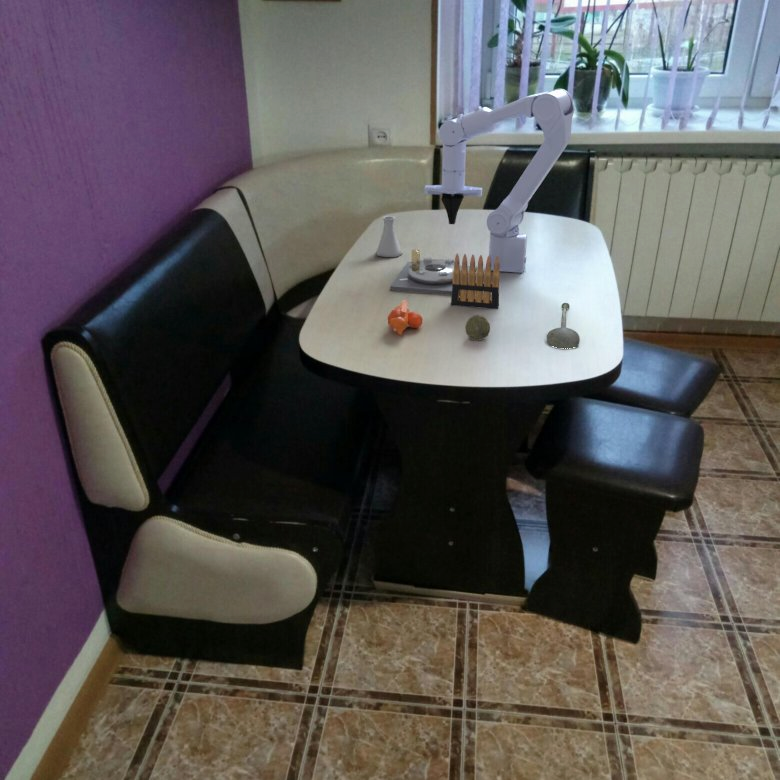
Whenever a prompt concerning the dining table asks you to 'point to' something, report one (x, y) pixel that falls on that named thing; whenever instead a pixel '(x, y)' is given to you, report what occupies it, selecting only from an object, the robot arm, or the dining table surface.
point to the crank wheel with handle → (431, 270)
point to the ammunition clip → (475, 284)
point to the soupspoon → (563, 334)
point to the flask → (388, 240)
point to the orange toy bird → (403, 318)
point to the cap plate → (420, 284)
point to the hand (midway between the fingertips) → (452, 223)
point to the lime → (477, 327)
